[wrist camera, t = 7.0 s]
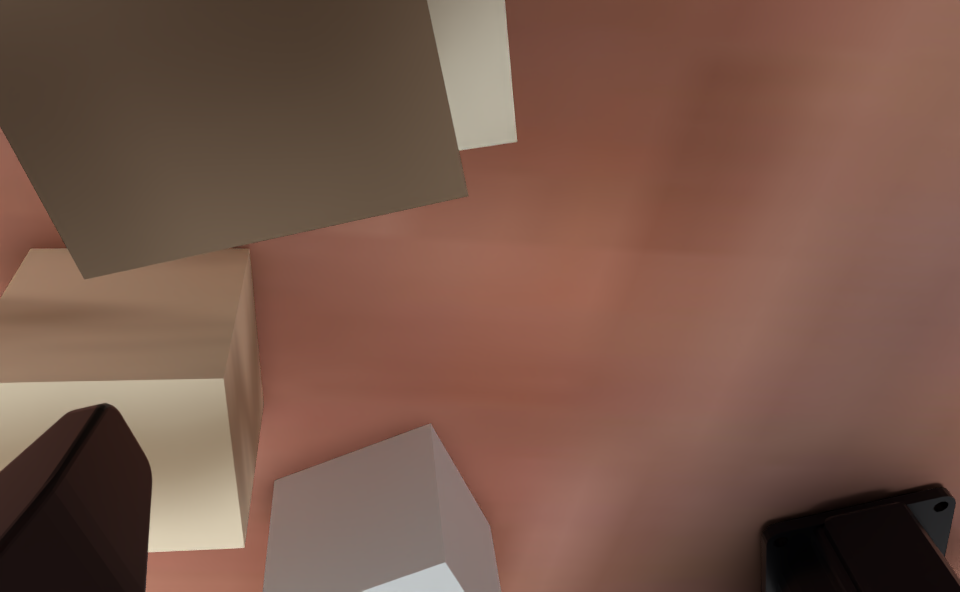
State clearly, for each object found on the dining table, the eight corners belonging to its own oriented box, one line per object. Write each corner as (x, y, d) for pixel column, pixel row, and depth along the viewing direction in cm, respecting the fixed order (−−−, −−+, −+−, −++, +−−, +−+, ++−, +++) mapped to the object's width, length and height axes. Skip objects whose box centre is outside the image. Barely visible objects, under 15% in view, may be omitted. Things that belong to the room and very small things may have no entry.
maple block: (264, 402, 24) (244, 547, 19) (73, 406, 23) (10, 558, 19) (250, 246, 21) (223, 378, 17) (32, 246, 20) (-52, 384, 16)
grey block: (489, 524, 27) (513, 665, 23) (348, 573, 28) (347, 721, 24) (430, 421, 25) (445, 562, 21) (274, 478, 25) (258, 627, 21)
